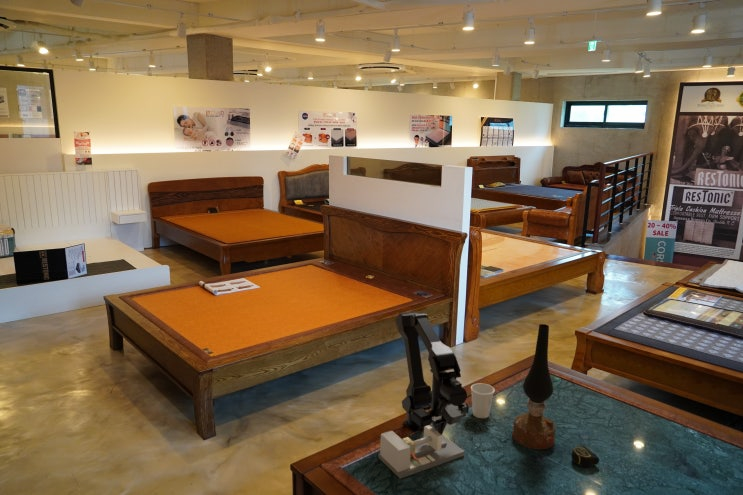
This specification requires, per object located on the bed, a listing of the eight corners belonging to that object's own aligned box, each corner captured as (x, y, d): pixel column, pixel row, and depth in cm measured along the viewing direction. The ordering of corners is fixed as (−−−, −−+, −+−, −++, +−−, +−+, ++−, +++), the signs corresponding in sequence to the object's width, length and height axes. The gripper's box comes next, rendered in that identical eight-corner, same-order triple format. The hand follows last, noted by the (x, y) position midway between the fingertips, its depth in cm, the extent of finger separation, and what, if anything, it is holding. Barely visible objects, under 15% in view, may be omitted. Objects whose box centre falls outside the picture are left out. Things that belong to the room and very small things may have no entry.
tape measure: (599, 467, 167) (600, 456, 166) (580, 471, 165) (581, 459, 164) (584, 454, 173) (585, 444, 173) (566, 458, 171) (567, 447, 170)
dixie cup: (479, 422, 191) (481, 396, 188) (464, 411, 198) (465, 386, 196) (497, 416, 195) (499, 390, 193) (481, 406, 202) (483, 381, 200)
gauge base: (378, 457, 169) (379, 432, 167) (440, 437, 181) (441, 413, 179) (399, 478, 159) (401, 452, 157) (464, 455, 171) (465, 430, 169)
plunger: (404, 446, 170) (405, 431, 169) (427, 438, 175) (428, 424, 174) (417, 457, 164) (418, 442, 163) (441, 449, 169) (442, 435, 168)
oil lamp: (505, 439, 187) (487, 327, 181) (543, 425, 191) (527, 316, 185) (528, 457, 174) (510, 338, 168) (568, 442, 178) (552, 325, 172)
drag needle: (401, 450, 168) (402, 438, 167) (407, 448, 169) (407, 436, 168) (415, 462, 162) (415, 450, 161) (420, 460, 163) (421, 448, 162)
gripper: (432, 409, 157) (430, 458, 161) (482, 394, 167) (479, 441, 170) (410, 393, 167) (408, 439, 170) (458, 380, 176) (455, 424, 179)
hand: (439, 436), depth 172 cm, fingers closed
